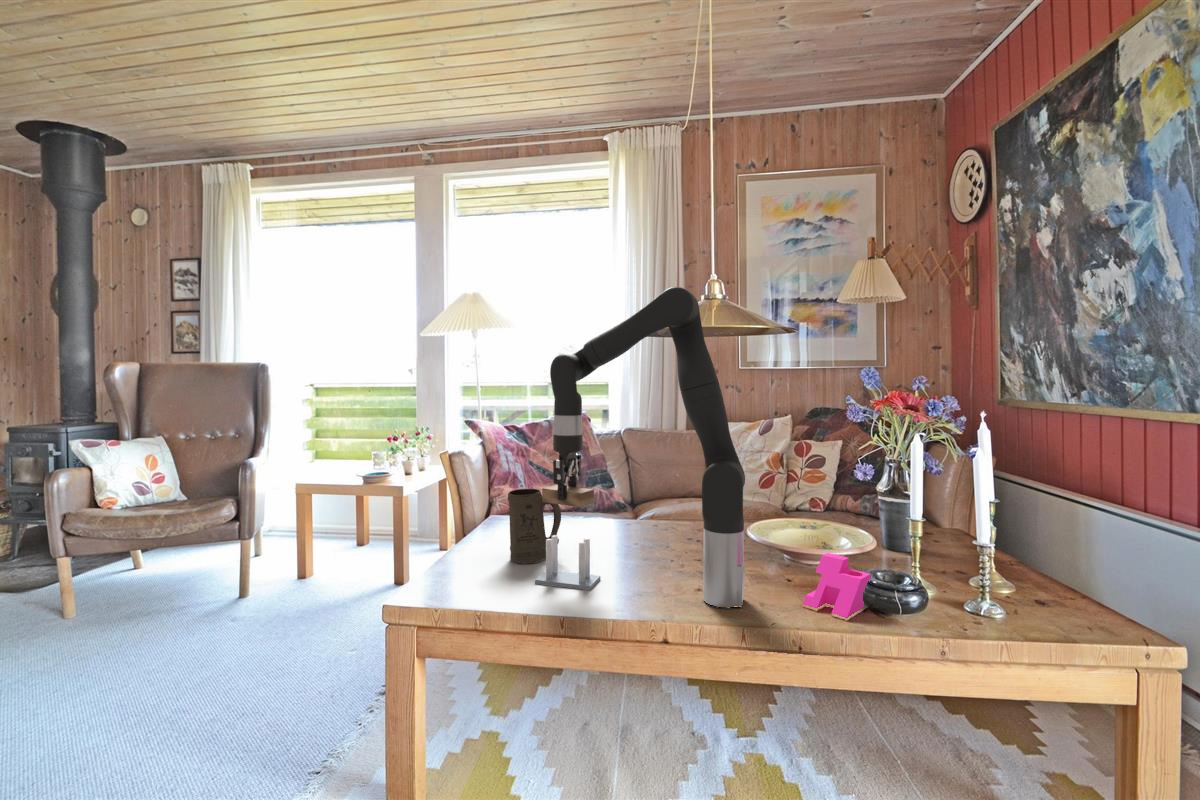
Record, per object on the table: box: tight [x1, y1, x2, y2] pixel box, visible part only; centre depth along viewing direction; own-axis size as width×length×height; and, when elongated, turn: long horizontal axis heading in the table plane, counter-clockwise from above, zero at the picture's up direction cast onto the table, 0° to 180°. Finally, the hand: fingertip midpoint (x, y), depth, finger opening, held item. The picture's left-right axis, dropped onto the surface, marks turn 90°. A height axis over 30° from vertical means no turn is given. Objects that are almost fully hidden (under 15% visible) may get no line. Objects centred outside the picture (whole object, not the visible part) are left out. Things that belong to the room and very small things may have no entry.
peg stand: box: [534, 534, 601, 591], centre depth 148 cm, size 15×8×11 cm, turn 72°
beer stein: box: [506, 488, 562, 564], centre depth 167 cm, size 15×11×20 cm
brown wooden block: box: [541, 484, 595, 508], centre depth 147 cm, size 12×6×4 cm, turn 58°
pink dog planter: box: [802, 552, 872, 618], centre depth 131 cm, size 12×10×10 cm
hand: (567, 497), depth 147 cm, fingers closed on brown wooden block, 7 cm apart
